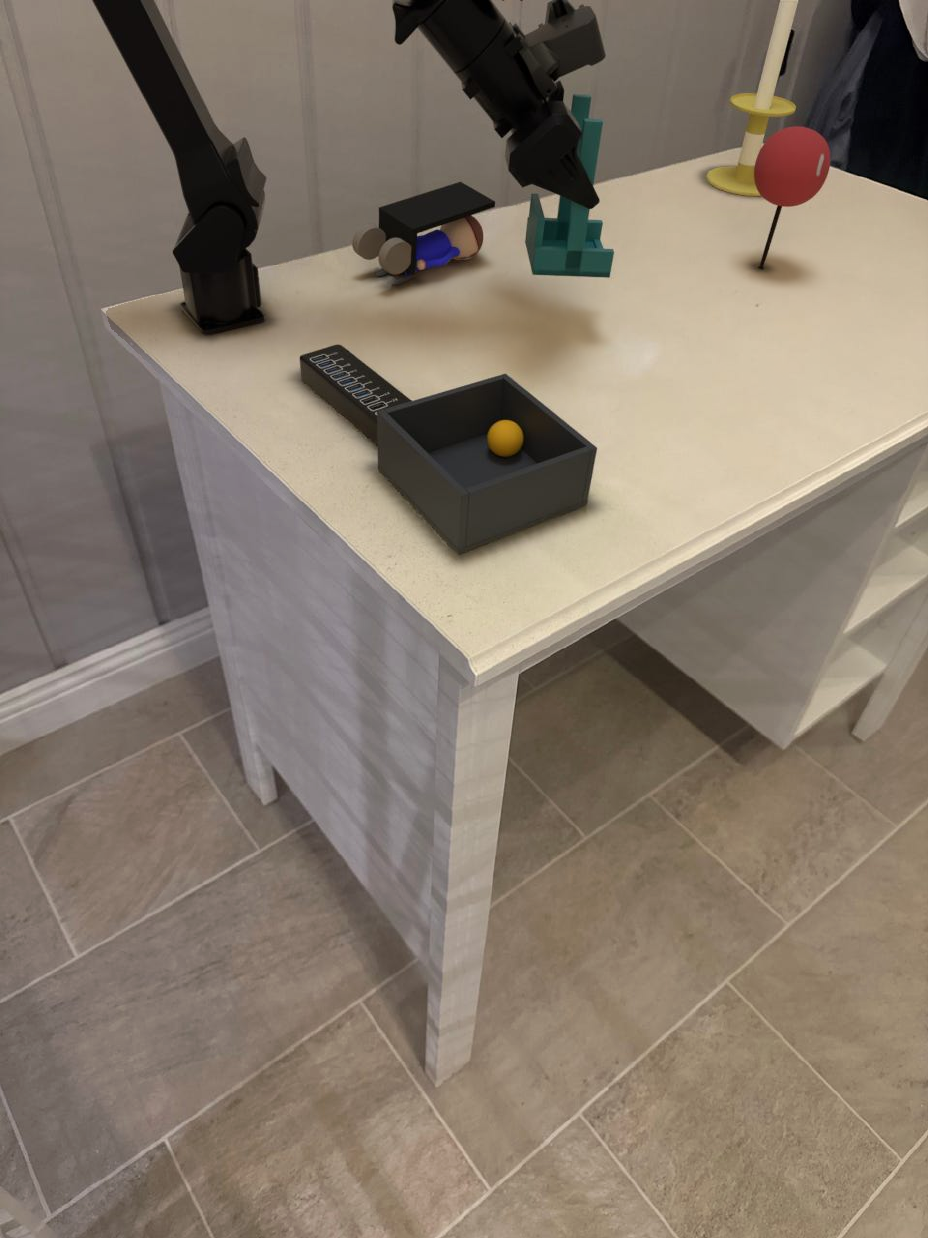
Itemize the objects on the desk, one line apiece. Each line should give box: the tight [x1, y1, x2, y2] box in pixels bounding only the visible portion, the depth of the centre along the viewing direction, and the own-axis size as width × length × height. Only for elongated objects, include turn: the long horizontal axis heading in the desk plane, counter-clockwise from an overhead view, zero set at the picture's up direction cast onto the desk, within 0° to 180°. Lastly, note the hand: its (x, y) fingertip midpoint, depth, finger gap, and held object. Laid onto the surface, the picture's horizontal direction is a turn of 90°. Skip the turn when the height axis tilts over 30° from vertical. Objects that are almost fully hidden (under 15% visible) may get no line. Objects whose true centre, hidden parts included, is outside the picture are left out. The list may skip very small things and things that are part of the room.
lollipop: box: [754, 126, 831, 270], centre depth 101 cm, size 8×8×15 cm
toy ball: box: [487, 420, 524, 457], centre depth 76 cm, size 3×3×3 cm
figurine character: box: [351, 181, 496, 286], centre depth 99 cm, size 7×8×15 cm
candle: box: [705, 0, 799, 197], centre depth 117 cm, size 10×10×27 cm
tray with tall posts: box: [524, 93, 615, 279], centre depth 85 cm, size 7×7×14 cm
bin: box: [377, 373, 598, 555], centre depth 72 cm, size 12×12×6 cm
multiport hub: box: [299, 344, 413, 447], centre depth 81 cm, size 4×14×2 cm, turn 38°
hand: (589, 188), depth 85 cm, fingers closed on tray with tall posts, 7 cm apart
